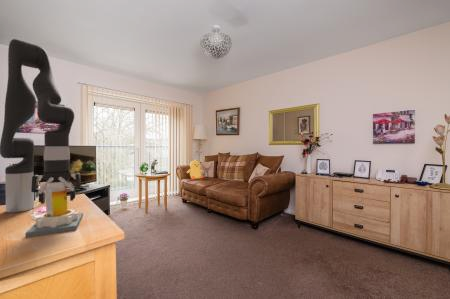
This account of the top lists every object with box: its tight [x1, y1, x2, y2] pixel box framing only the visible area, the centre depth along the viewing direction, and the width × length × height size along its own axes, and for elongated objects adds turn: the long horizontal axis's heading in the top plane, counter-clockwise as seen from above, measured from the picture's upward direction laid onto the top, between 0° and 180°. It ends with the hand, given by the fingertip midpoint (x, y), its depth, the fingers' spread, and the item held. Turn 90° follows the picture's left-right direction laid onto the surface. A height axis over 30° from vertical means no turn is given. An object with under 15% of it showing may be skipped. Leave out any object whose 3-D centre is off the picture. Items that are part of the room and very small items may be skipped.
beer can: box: [45, 182, 68, 217], centre depth 77 cm, size 6×6×15 cm
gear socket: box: [25, 208, 84, 238], centre depth 77 cm, size 16×14×4 cm
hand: (57, 201), depth 77 cm, fingers open, 8 cm apart
